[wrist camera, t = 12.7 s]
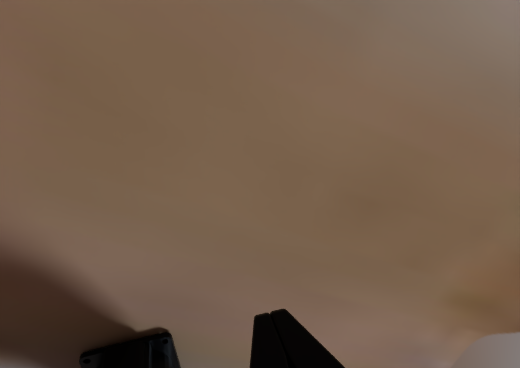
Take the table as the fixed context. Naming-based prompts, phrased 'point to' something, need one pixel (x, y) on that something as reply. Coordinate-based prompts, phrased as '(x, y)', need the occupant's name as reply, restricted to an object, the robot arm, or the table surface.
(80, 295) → the table surface
